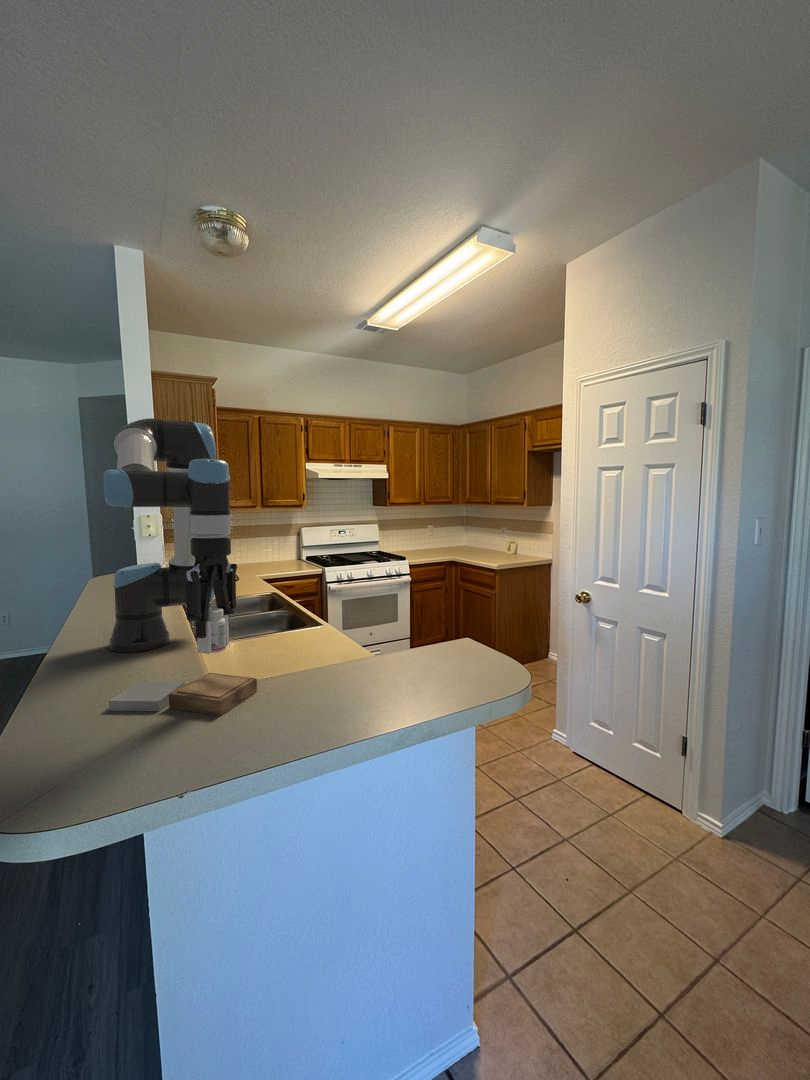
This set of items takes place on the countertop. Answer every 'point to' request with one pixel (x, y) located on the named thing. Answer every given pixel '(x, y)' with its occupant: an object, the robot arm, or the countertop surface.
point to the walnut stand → (213, 694)
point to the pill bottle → (217, 629)
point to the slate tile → (144, 696)
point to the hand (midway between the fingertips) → (213, 648)
